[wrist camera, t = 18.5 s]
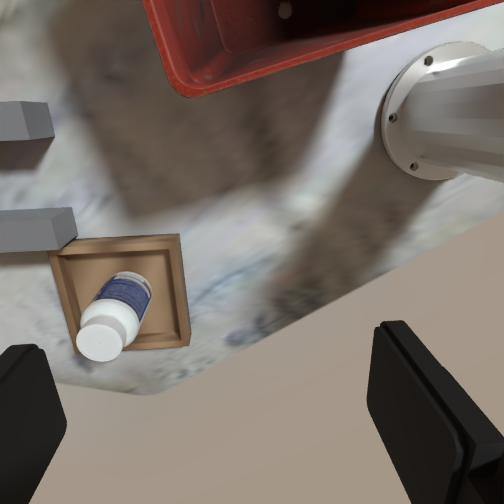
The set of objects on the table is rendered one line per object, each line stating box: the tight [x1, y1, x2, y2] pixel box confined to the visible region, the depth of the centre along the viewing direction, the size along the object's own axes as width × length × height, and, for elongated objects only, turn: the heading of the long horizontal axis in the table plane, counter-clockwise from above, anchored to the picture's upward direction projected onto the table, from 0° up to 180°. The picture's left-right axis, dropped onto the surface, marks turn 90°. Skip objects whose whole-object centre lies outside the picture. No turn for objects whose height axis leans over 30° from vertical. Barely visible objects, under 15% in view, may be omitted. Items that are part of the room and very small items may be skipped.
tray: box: [47, 234, 191, 353], centre depth 39 cm, size 13×13×2 cm
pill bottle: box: [76, 271, 152, 362], centre depth 35 cm, size 5×5×10 cm
